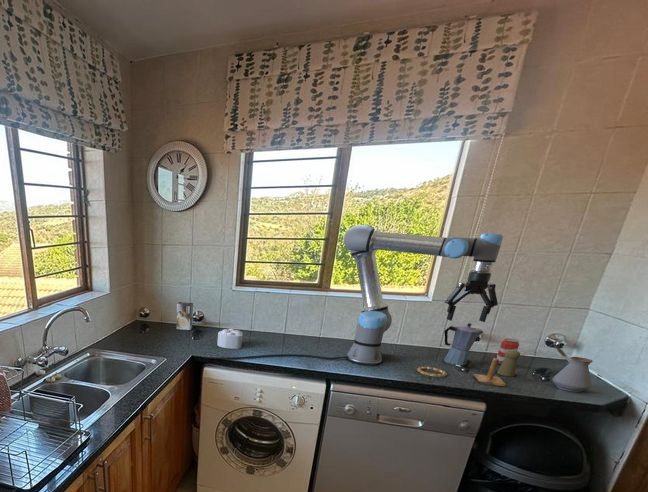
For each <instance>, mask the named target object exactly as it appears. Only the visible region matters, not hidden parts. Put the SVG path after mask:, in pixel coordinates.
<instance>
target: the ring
mask: <svg viewBox="0 0 648 492" xmlns="http://www.w3.org/2000/svg"><path fill="white" fill-rule="evenodd" d="M424 370H430V371H431V370H432V371H436V372H439V374H438V373H430V372H428V371H424ZM416 371H417V372H418V373H420V374H422V375H425V376H429V377H436V378H445V377H447V376H448V373H447V372H446V371H445V370H443V369H440V368H437V367H432V366H419V367H417V368H416Z"/></svg>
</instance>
